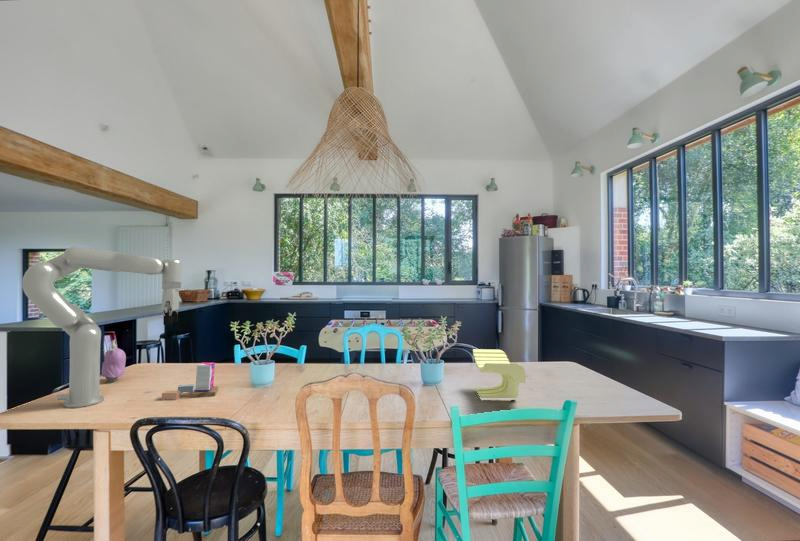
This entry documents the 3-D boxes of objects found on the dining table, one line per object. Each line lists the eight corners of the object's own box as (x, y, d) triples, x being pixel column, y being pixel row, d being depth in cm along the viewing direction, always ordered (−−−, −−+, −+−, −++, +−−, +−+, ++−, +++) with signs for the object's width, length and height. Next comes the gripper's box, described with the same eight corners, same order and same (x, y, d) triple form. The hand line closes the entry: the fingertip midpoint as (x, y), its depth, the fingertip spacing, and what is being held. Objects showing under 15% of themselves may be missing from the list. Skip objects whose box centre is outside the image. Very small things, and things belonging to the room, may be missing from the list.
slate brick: (177, 393, 167) (177, 386, 167) (179, 391, 169) (179, 385, 170) (192, 392, 168) (192, 385, 168) (194, 390, 171) (194, 383, 171)
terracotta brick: (161, 400, 158) (161, 393, 158) (165, 398, 160) (165, 390, 161) (176, 400, 158) (176, 392, 158) (180, 397, 161) (180, 390, 161)
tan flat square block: (191, 399, 160) (191, 393, 160) (196, 393, 169) (196, 387, 169) (214, 397, 163) (214, 392, 163) (218, 391, 171) (218, 386, 171)
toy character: (103, 379, 189) (104, 339, 189) (127, 376, 193) (128, 337, 193) (95, 385, 178) (96, 343, 178) (122, 382, 182) (123, 341, 182)
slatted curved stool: (525, 408, 150) (525, 363, 150) (485, 407, 150) (485, 363, 151) (506, 386, 180) (506, 349, 180) (472, 386, 180) (472, 349, 181)
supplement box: (209, 391, 164) (210, 365, 164) (194, 391, 163) (196, 365, 163) (214, 387, 169) (215, 362, 170) (200, 387, 168) (201, 362, 169)
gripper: (167, 285, 179) (166, 321, 179) (156, 286, 163) (155, 326, 162) (185, 285, 181) (184, 321, 181) (175, 286, 165) (174, 325, 164)
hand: (170, 323), depth 172 cm, fingers open, 9 cm apart
